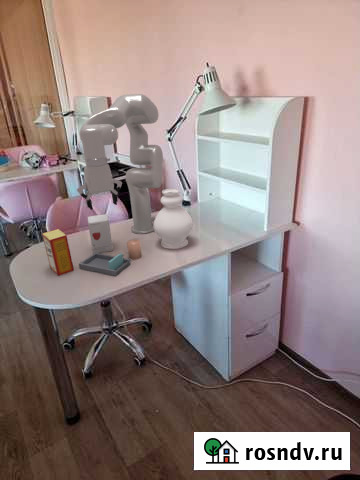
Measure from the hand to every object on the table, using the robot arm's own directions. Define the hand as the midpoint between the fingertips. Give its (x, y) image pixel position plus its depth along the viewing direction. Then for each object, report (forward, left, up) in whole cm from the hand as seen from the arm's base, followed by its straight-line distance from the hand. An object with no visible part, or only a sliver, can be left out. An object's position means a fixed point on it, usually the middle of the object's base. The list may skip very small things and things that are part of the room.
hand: (103, 206), depth 131 cm
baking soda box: (+12, -17, -25) cm, 33 cm away
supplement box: (-10, -13, -25) cm, 30 cm away
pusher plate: (+4, +5, -25) cm, 26 cm away
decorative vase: (-26, +16, -25) cm, 40 cm away
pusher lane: (+4, -1, -25) cm, 25 cm away
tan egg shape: (-8, +6, -25) cm, 27 cm away
